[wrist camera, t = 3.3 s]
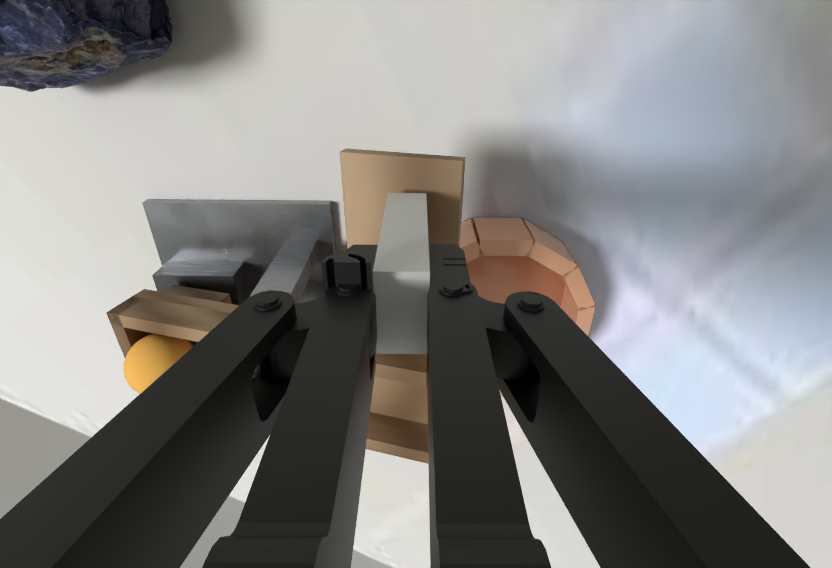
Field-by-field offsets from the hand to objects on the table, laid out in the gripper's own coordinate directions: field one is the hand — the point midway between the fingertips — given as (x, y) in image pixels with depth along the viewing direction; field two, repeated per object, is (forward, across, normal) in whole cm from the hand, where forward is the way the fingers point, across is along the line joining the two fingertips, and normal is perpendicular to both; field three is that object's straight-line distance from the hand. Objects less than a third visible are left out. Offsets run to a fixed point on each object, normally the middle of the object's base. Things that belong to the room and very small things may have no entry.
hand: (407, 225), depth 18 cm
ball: (+3, -14, -9) cm, 17 cm away
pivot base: (+10, -11, -9) cm, 17 cm away
